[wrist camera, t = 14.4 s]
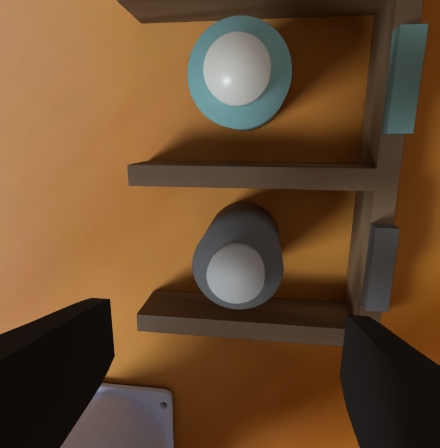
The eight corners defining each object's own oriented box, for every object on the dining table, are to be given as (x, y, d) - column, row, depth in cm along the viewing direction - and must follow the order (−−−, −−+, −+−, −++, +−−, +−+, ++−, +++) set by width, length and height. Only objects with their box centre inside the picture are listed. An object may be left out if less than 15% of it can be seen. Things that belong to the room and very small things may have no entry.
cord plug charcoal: (278, 269, 20) (283, 322, 14) (210, 267, 21) (189, 318, 15) (279, 202, 19) (285, 230, 13) (208, 202, 20) (185, 229, 14)
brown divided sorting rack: (360, 318, 20) (381, 358, 16) (154, 305, 22) (132, 339, 18) (399, -11, 16) (439, -55, 12) (140, 1, 17) (107, -35, 14)
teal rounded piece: (282, 130, 18) (291, 127, 12) (208, 130, 19) (182, 128, 13) (286, 47, 17) (297, 2, 11) (207, 50, 18) (179, 8, 12)
